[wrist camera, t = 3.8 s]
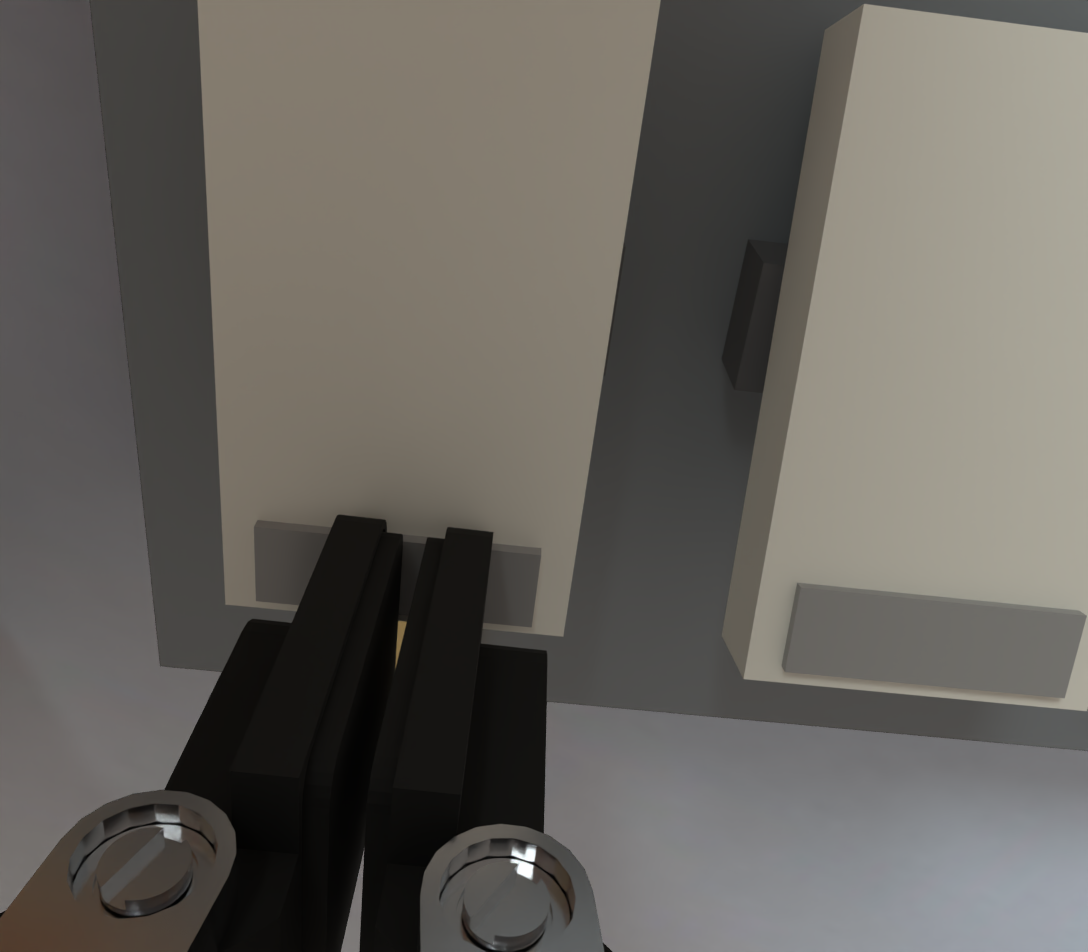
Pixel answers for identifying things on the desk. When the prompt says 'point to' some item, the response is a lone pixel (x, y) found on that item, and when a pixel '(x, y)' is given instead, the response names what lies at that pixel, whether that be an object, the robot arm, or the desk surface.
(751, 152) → the console
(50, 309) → the desk surface
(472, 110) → the rocker
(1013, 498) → the block
